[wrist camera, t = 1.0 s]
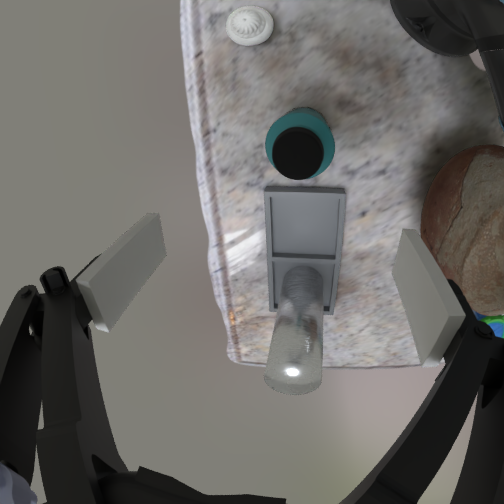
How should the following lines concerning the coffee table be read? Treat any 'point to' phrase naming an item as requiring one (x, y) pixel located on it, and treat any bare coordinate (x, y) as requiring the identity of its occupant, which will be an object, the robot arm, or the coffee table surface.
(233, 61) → the coffee table surface
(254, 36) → the white lidded jar
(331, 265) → the tray
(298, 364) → the canister
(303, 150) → the beverage bottle
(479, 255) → the jug
